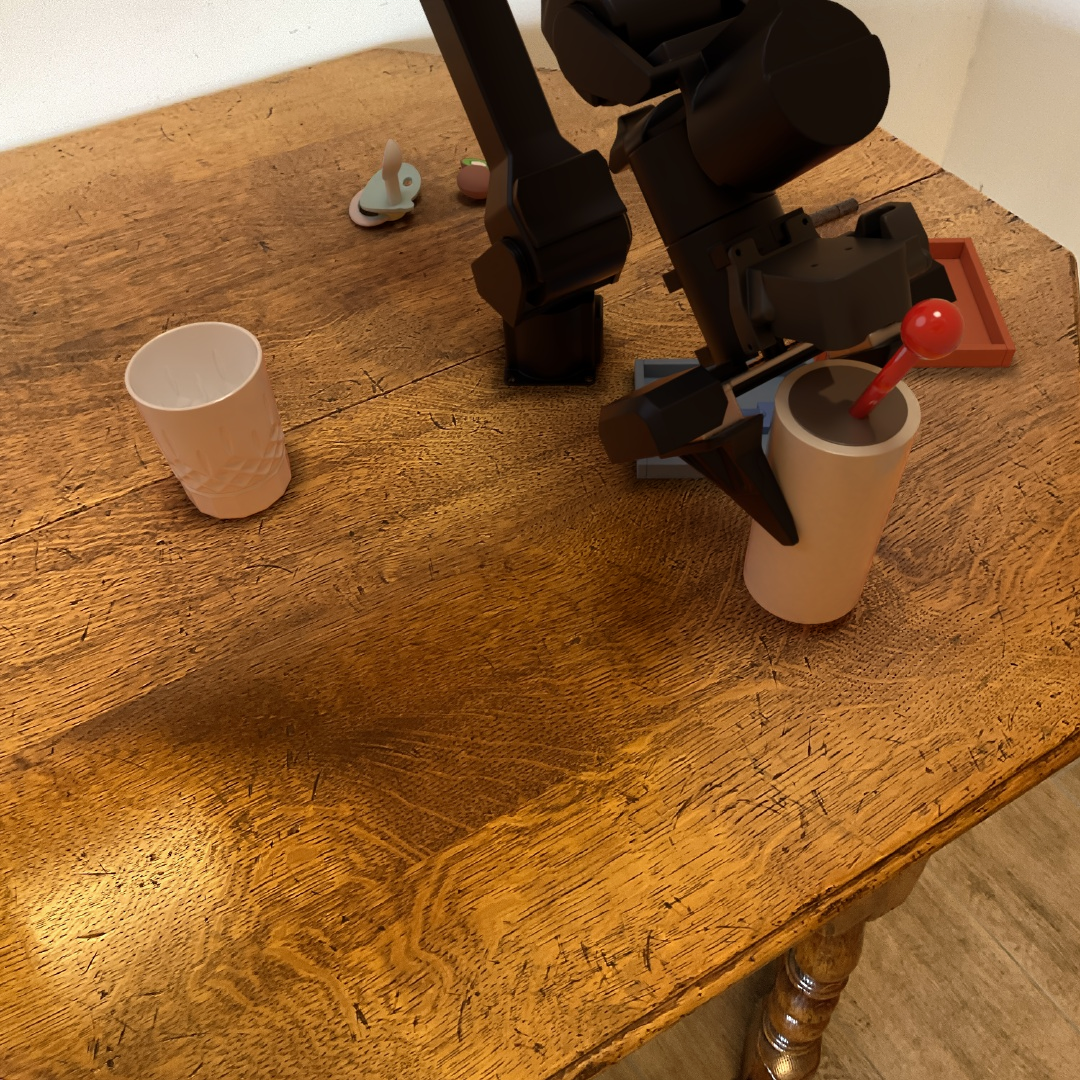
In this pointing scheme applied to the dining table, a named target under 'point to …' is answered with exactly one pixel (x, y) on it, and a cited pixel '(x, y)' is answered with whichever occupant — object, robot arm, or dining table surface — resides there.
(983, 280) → the terracotta tray
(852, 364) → the beige spoon holder
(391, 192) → the pacifier
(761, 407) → the blue spatula
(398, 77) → the dining table surface
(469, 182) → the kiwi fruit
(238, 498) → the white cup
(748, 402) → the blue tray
